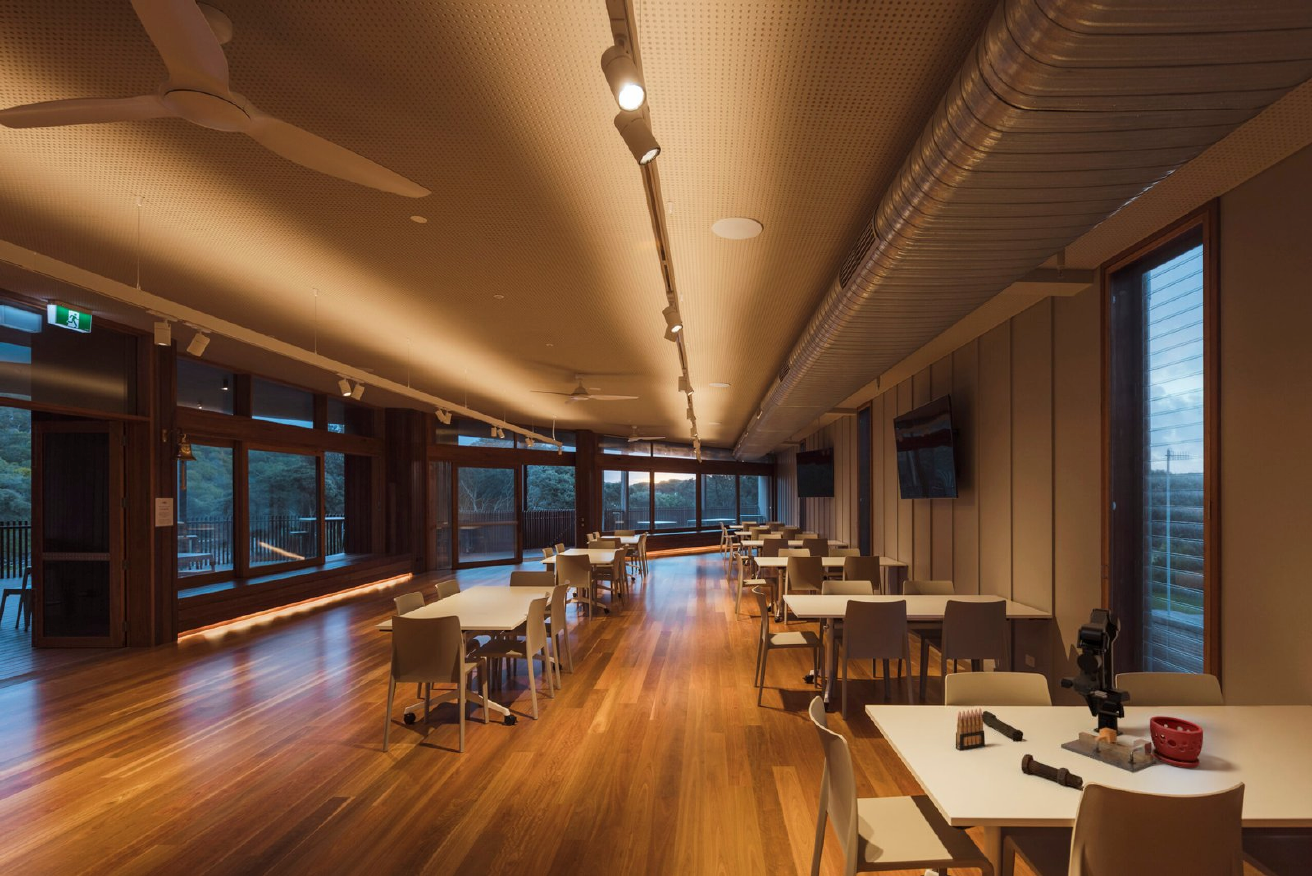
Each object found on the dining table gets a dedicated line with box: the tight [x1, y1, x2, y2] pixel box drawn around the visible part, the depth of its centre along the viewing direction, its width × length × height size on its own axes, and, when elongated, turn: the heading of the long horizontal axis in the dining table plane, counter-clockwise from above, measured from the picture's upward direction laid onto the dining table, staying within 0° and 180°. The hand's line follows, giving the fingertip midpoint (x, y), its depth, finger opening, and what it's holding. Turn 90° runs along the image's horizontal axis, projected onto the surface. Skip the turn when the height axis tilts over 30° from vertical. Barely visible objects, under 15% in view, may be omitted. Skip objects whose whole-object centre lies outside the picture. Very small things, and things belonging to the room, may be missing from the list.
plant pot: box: [1149, 715, 1204, 769], centre depth 209 cm, size 13×13×12 cm
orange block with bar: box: [1095, 728, 1118, 750], centre depth 216 cm, size 9×3×5 cm, turn 119°
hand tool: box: [982, 710, 1024, 742], centre depth 232 cm, size 19×4×5 cm, turn 6°
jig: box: [1060, 731, 1157, 773], centre depth 213 cm, size 14×21×6 cm, turn 29°
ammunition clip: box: [955, 708, 986, 752], centre depth 218 cm, size 11×2×12 cm, turn 112°
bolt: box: [1020, 753, 1084, 789], centre depth 194 cm, size 6×5×15 cm
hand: (1094, 716), depth 215 cm, fingers closed
